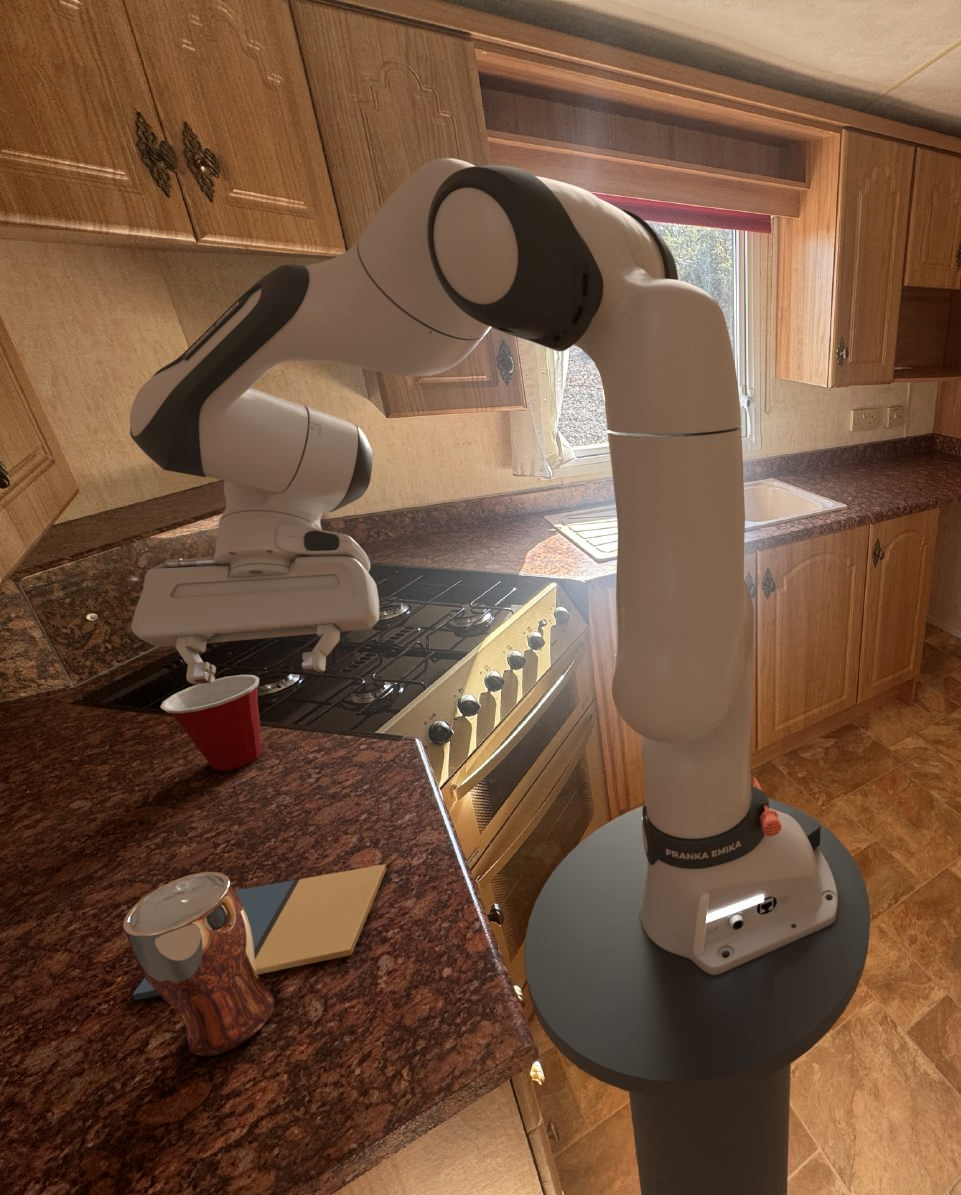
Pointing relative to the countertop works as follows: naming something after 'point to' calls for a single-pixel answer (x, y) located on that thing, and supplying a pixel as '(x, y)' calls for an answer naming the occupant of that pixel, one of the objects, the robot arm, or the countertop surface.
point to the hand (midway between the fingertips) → (258, 676)
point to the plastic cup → (221, 719)
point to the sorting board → (304, 919)
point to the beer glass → (201, 960)
